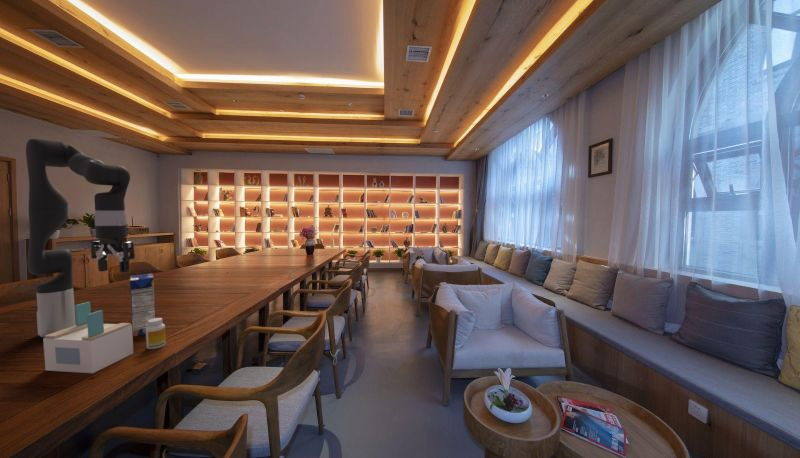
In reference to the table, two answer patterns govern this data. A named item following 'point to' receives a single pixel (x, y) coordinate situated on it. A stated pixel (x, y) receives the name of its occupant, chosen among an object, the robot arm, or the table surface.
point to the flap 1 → (80, 320)
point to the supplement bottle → (155, 334)
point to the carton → (87, 350)
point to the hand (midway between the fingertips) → (113, 271)
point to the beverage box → (142, 302)
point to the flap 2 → (100, 326)
